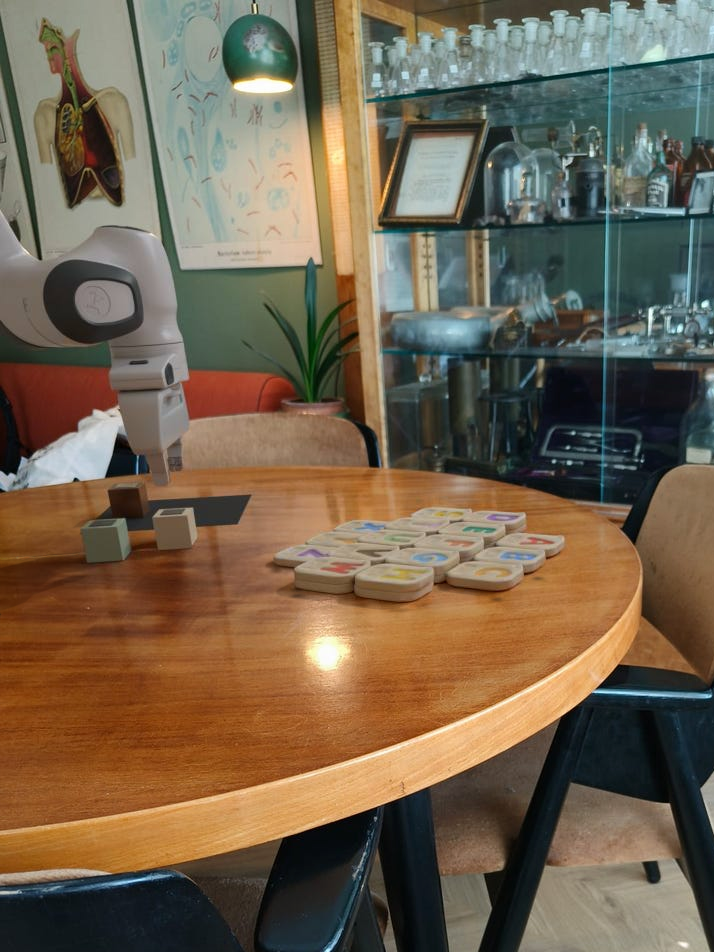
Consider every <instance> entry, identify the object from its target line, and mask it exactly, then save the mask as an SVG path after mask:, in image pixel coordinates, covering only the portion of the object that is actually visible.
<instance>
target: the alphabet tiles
mask: <svg viewBox="0 0 714 952" xmlns="http://www.w3.org/2000/svg"><path fill="white" fill-rule="evenodd" d="M526 530H527V514H526V513H525V512H524V511H521V512H512V511H511V512H510V511H500V510H499V511H497V510H477V511H473V509H472V508H453V507H438V506H437V507H436V506H433V507H432V506H431V507H425V508H424V507H423V508H421V509H419V510H417V511H415V512H412V513H410V514H409V516H408V517H406V516H405V517H400V518H397V519H394V520H392V521H383V520H370V519H353V520H349V521H347V522H343V523H342V524H339V525H337V526H336V527H333V531H326V532H322V533H319V534H317V535H315V536H312V537H310V538H308V539H306V541H305V544H297V545H292V546H289V547H287V548H285V549H282V550H280V551H278V552H276V553H274V555H272V556H273V563H274V564H275V565H276V566H281V567H286V568H287V567H288V568H293V576H294V578H293V582H294V583H293V584H294V586H295V588H297V589H301V590H306V591H313V592H318V593H319V592H320V593H326V594H335V595H337V594H348V593H352V592H354V595H355V596H357V597H359V598H365V599H372V600H380V601H387V602H397V603H406V602H412V601H416V600H419V599H420V598H422V597H423V596H425V595H426V594H429V593H430V592H431V591H432V590H433V588H434V586H435V585H434V584H439V583H442V582H445V581H446V582H447V584H448V585H450V586H454V587H459V588H468V589H475V590H484V591H492V592H493V591H496V592H497V591H505V590H508V589H512V588H513V587H515V586H516V585H517V584H519V583H520V582H521V581H522V580H523V579H524V576H525V575H524V574H527V573H531V572H535V571H536V570H538V569H539V568H540V567H542V566H543V565H544V564H545V563H546V558H548V557H553V556H555V555H558V553H560V552H561V551H563V549H564V548H565V545H566V544H565V543H566V542H565V539H566V538H565V536H563V535H562V534H559V535H551V534H540V533H539V534H537V533H526V532H525V531H526Z"/></svg>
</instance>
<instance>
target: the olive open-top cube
mask: <svg viewBox="0 0 714 952" xmlns="http://www.w3.org/2000/svg"><path fill="white" fill-rule="evenodd" d="M80 533H81V534H80V535H81V539H82V544H83V549H84V554H85V559H86V564H92V563H109V562H123V561H125V559H126V558H127V557H128V556H129V554H131V552H132V547H131V542H130V536H129V531H128V530H127V525H126V519H125V518H121V519H104V520H95V519H92V520H91V519H90V520H89V521H87V522H86V524H84V525H83V526H82V527H81V528H80Z"/></svg>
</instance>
